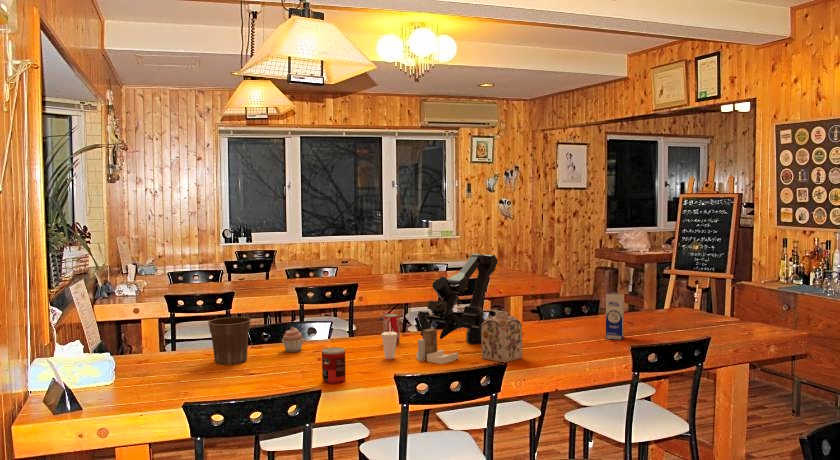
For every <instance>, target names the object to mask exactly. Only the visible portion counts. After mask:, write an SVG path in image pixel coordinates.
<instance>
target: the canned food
mask: <svg viewBox="0 0 840 460" xmlns="http://www.w3.org/2000/svg"><path fill="white" fill-rule="evenodd" d="M321 370H322V371H321V373H322V377H321V378H322V379H321V380H322V382H323V383H325V384H328V385H337V384H342V383H344V382H345V381H346V378H347V377H346V349H345V348H343V347H336V346H335V347H326V348H323V349H321Z"/></svg>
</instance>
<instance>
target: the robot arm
mask: <svg viewBox="0 0 840 460" xmlns="http://www.w3.org/2000/svg"><path fill="white" fill-rule="evenodd" d="M497 264H498V258H497V257H496V255H495V254H483V253H482V254H481V253H471V254H470V256H469V259H468V260H467V261H466V263H465V264H464V265H463V266H462V268H461V269H460V270H459V271H458V273H456V274H455V275H452V276H451V277H450V278H448V279H447V277H446V276H440V277H439V278H438V279H436V280H435V281H434V282H433V283H432V289H433V290H434V291H435V293H436V295H437V296H438V297H439V298H441V301H434V300H429V301H428V304H427V308H426V309H427V310H430V311H431V313H432V314H433V315H431V314H430V313H429V311H427V310H419V312H418V313H417V315H416V316H417V317H418V319H419V320H420V321H421V328H420V329H421V330H420V336H421V337H423V330H426V329H430V328H431V327H432V325H431V324H432V323H433V321H434V322H440V323H444V326H443V328H442V331H441V333H440V334H439V339H440V340H442V339H444V338H445V337H446V336H448V335H449V334H452V332H454V331H456V330H458V329H461V328H462V326H463V327H464V329H467V330H466V332H465V333H466V335H465V342H466V343H468V344H470V345H477V344H479V345H480V344H481V325H482V323H483V322H484V321H485V320H486V319H485V318H484V317H485V316H484V315H485V314H484V310H483V303H484V299H485V295H486V291H487V287H488V284H489V279H490V276H491V275H492V274H493V273H494V272H495V271H496V268H497ZM476 270H477V272H478V273H477V278H476V280H475V285H474V288H473V289H474V290H473V292H472V293H473V294H472V295H471V296H472V297H471V299H470V304H469V305H465V307H464V309H463V312H462V318H461V319H462V320H461V319H460V317H459V316H458V314H454V312H455V311H454V307H455V306H456V303H461V299H460V297H459V295H457V294H464V293H465V291H466V289H467V287H468V286H469V285H468V284H469V283H468V282H469V279H470V278H471V277H472V276H473V274H474V273H475V271H476Z"/></svg>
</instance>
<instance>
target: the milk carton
mask: <svg viewBox="0 0 840 460" xmlns="http://www.w3.org/2000/svg"><path fill="white" fill-rule="evenodd" d="M624 298H625V295H624V294H621V293H620V292H616V291H615V292H614V291H613V292H611V293H605V340H611V341H612V340H613V341H614V340H615V341H623V339H624V334H625V333H624V332H625V329H624V328H625V327H624V324H625V319H624V317H625V315H624V313H625V312H624V311H625V310H624V309H625V307H624V306H625V305H624V304H625V299H624Z"/></svg>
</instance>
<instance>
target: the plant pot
mask: <svg viewBox="0 0 840 460" xmlns="http://www.w3.org/2000/svg"><path fill="white" fill-rule="evenodd" d="M251 321H252V319H251V318H250V317H246V316H245V317H243V316H230V317H229V316H228V317H220V318H215V319H211V320H208V321H207V324H208V327H209V333H210V334H211V335H210V336H211V342H212V348H213V349H212V350H213V356H214V357H213V358H214V363H215V364H217V365H219V364H220V365H225V366H231V365H230V364H232V365H237V364H240V363H245V362H246V361H247V360H248V345H249V344H248V343H249V331H250V325H251Z"/></svg>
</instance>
